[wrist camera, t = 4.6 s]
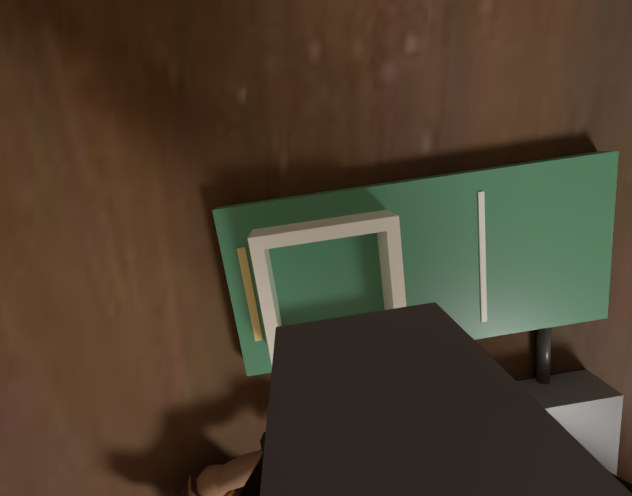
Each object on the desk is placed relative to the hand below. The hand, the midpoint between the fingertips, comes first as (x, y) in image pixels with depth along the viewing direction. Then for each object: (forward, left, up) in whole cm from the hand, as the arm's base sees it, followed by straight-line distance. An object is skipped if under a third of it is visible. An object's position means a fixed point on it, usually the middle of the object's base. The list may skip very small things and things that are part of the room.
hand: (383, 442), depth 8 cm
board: (-5, 0, -12) cm, 13 cm away
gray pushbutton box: (-11, +10, -12) cm, 19 cm away
